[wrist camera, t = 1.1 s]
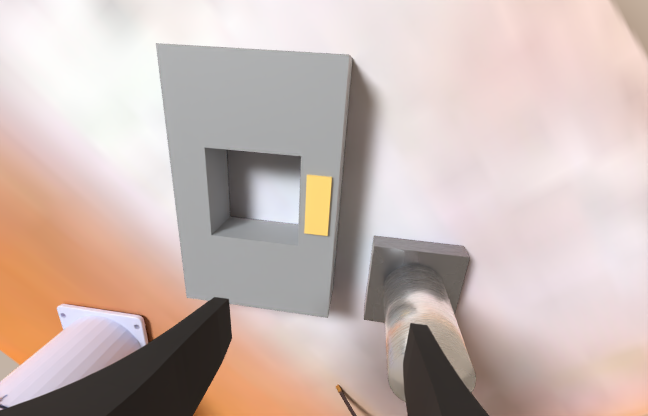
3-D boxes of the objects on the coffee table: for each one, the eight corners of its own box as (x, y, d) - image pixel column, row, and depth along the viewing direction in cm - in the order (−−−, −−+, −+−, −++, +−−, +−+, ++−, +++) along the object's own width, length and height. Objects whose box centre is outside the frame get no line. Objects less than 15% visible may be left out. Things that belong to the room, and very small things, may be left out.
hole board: (332, 290, 24) (327, 319, 22) (206, 273, 25) (185, 299, 23) (352, 58, 18) (349, 54, 15) (186, 48, 19) (153, 42, 16)
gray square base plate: (445, 317, 24) (450, 331, 23) (364, 306, 25) (363, 319, 23) (463, 246, 22) (469, 257, 20) (373, 235, 22) (373, 246, 21)
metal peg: (438, 318, 22) (465, 415, 16) (379, 310, 23) (383, 401, 16) (450, 268, 21) (485, 354, 14) (387, 261, 21) (394, 340, 15)
